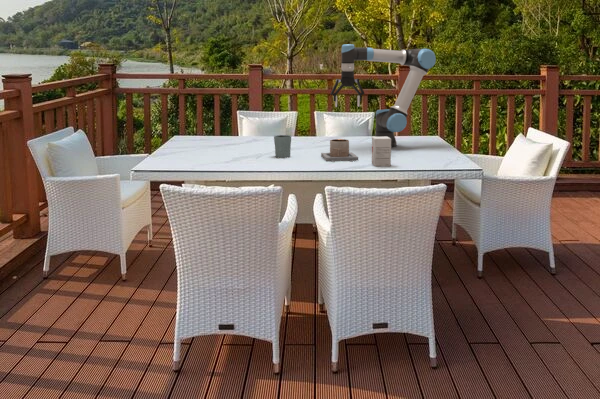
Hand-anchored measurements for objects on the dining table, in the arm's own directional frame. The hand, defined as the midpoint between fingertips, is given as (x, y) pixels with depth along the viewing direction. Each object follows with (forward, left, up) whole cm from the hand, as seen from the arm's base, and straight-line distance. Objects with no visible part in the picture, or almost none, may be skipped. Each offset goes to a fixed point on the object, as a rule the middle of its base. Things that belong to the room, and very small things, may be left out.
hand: (347, 106), depth 433 cm
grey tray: (+10, +30, -27) cm, 42 cm away
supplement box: (-8, +54, -27) cm, 61 cm away
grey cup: (+41, +17, -27) cm, 52 cm away
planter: (+10, +29, -26) cm, 40 cm away
